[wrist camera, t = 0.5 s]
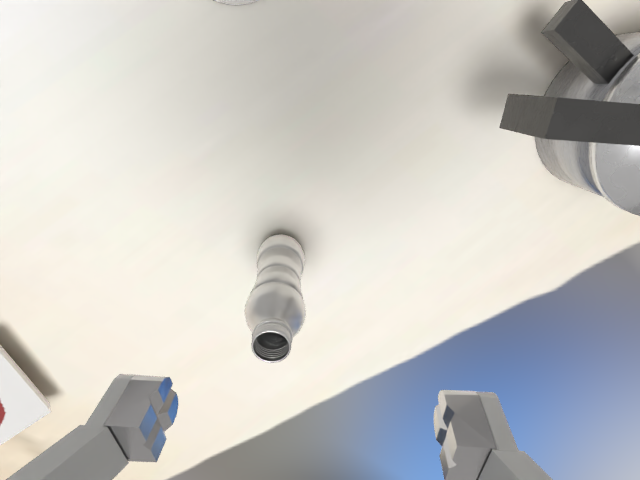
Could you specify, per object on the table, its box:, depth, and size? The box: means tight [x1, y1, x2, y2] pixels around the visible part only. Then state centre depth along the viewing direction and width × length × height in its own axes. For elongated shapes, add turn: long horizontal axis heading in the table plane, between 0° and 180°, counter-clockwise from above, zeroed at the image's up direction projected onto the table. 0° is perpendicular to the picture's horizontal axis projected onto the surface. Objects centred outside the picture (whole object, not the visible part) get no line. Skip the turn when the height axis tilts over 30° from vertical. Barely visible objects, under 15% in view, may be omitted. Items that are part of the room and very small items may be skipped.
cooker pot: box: [535, 0, 640, 197], centre depth 41 cm, size 31×18×10 cm, turn 56°
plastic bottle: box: [245, 234, 306, 363], centre depth 42 cm, size 6×7×20 cm
